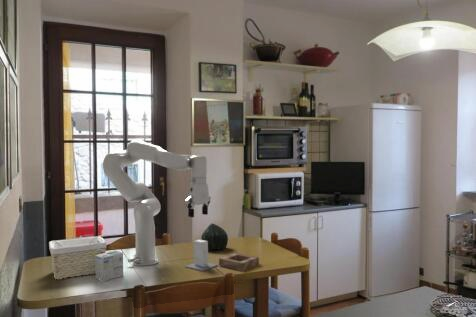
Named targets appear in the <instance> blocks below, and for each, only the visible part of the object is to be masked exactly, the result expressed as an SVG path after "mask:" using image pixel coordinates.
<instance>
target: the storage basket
mask: <svg viewBox="0 0 476 317" xmlns="http://www.w3.org/2000/svg"><path fill="white" fill-rule="evenodd" d="M48 247H49V248H48V249H49V252H50V258H51V264H52V265H51V266H52V274H53V273H54V276H53V277H54V278H55V279H54V280H56V279H57V280H59V279H58V278H64V279H68V278H67V277H71V278H75V277H74V276H77V277H82V276H81V275H86V276H90V275H96V274H95V255H99V254H103V253H107V252H106V250H107V248H108V247H107V241H106V240H105V239H104V238H103V237H102V236H100V235H97V236H89V237H88V236H87V237H77V238H70V239H68V238H67V239H58V240H51V241H49V242H48ZM89 274H90V275H89Z"/></svg>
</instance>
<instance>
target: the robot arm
mask: <svg viewBox="0 0 476 317" xmlns="http://www.w3.org/2000/svg"><path fill="white" fill-rule="evenodd" d="M139 160H143V161H146V162H151V163H153V164H156V165H159V166H160V167H164V168H168V169H171V170H175V171H179V172H181V171H188V170H190V185H189V191H188V197H187V198H186V199H185V200H184V203H185V206H186V207H187V209H188V210H187V211H188V215H187V216H188V217H189V218H194V217H195V206H197V205H202V207H201V208H202V209H201V214H202V215H206V216H208V214H209V213H208V210H209V209H208V207H209V206H210V205H209V204H210V203H211V199H212V196H210V195H209V186H208V185H209V184H208V183H207V172H208V171H207V170H208V169H207V166H208V165H207V164H208V159H207V156H206V155H203V154H202V155H201V154H200V155H198V154H197V155H191V154H177V153H174V152H170V151H167V150H165V149H163V148H162V147H161V146H159V145H156V144H151V143H148V142H147V141H145V140H138V139H137V140H134V139H133V140H132V141H130V142H129V143H128V144H127V146H126V148H125V149H124V150H115V151H114V150H113V151H110V152H108V153H107V154H106V155H105V156H104V159H103V162H102V169H103V173H104V174H105V176H106V178H108V180H109V181H110V182H111V183H112V185H113V186H114V187H115V189H116V190H117V191H118V192H119V194H120V195H121V196H122V197H123V199H124V200H125V201H127V202H128V203H135V202H136V204H135V205H134V207H133V218H134V225H135V226H134V227H135V230H134V231H135V254H133V257H129V258H128V259H127V262H128V263H132V265H135V266H137V267H148V266H153V265H157V264H158V263H159V259H158V258H156V234H155V233H156V232H155V231H156V227H155V226H156V225H155V220H154V217H155V216H157V215H158V214H159V213H160V211H161V209H162V208H161V203H160V201H159V199H158V198H157V197H156V196H155V194H154V193H153V192H152V191H151V189H150V188H149V187H148V186H147V185H146V184H144V183H143V182H140V181H136V182H135V181H134V180H132V178H131V176H129V174H128V173H126V171H124V170H123V169H122V168H126V167H129V166H131V165H132V164H135V163H137V162H138V161H139Z"/></svg>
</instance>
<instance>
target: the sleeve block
mask: <svg viewBox="0 0 476 317" xmlns="http://www.w3.org/2000/svg"><path fill="white" fill-rule="evenodd" d="M259 263H260V258H259V256H254V255H250V254H244V253H238V252H235V253H231V254H229V255H226V256H223V257H220V258H218V266H219V267H223V268H227V269H232V270H236V271H240V272H243V271H246V270H249V269H250V267H251V268H253V267H256V266H257V264H258V265H260V264H259Z"/></svg>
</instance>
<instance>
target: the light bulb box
mask: <svg viewBox="0 0 476 317" xmlns="http://www.w3.org/2000/svg"><path fill="white" fill-rule="evenodd" d="M94 275H95V279H96V278H97V279H96V280H98V279H100V280H102V281H101V282H103V281H104V282H106V281H105V280H107V281H109V279H110V280H113V279H112V278H114V279H117V278H120V277H123V276H124V252H122V251H118V250H113V251H108V252H105V253H103V254H99V255H95V274H94ZM116 277H117V278H116ZM100 280H99V281H100Z"/></svg>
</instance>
